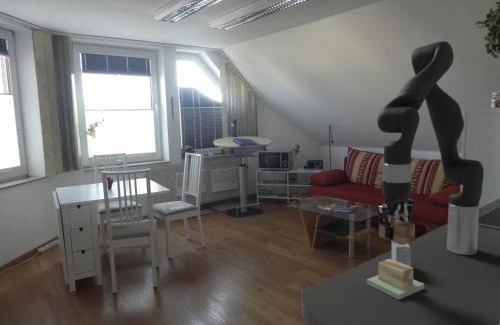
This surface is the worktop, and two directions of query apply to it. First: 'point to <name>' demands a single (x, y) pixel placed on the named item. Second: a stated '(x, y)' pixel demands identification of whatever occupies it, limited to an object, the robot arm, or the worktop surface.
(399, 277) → the birch brick
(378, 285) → the baseplate
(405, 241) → the walnut brick
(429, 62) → the robot arm
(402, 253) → the medicine box
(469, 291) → the worktop surface
